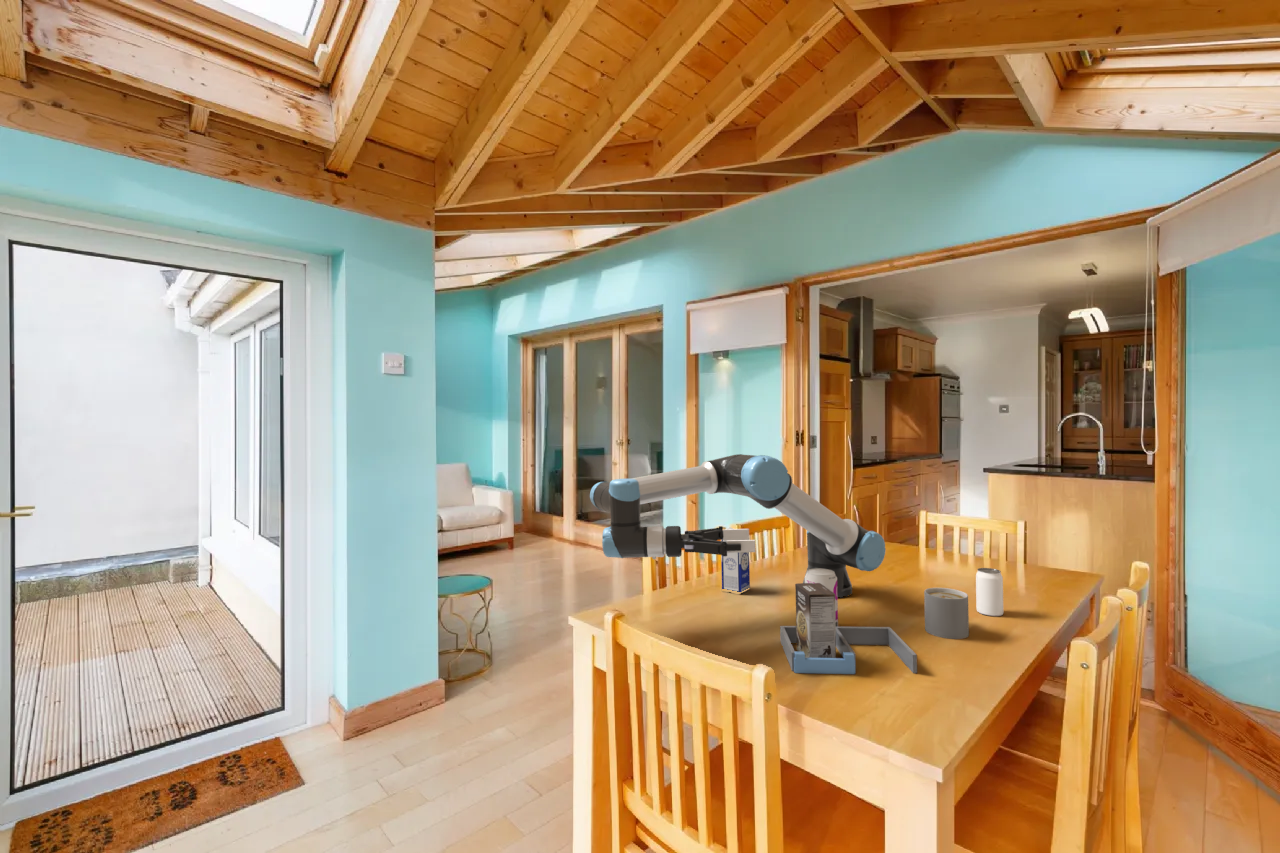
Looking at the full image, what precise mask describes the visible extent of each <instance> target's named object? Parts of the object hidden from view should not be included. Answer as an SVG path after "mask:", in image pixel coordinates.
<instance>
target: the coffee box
mask: <svg viewBox="0 0 1280 853" xmlns="http://www.w3.org/2000/svg"><path fill="white" fill-rule="evenodd" d="M794 585H795V620H796V621H795V626H796V633H797V644H796V650H797V651H802V652H804V653H805V658H837V656H836V655H837V652H836V651H837V648H836V616H835V594H834V593H833V592H832V591H830V590H829V589H827V588H826V587H825V586H823V585H822V584H821V583H803V582H799V583H795V584H794Z"/></svg>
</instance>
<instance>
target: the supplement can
mask: <svg viewBox="0 0 1280 853" xmlns="http://www.w3.org/2000/svg"><path fill="white" fill-rule="evenodd" d="M806 571H807V573H806V572H805V574H806V575H805V574H804V577H805V583H821V584H822V585H823V586H825V587H826V588H827V589H829V590H830V591H832V592H833V593H834V594H835V616H836V627H839V606H838V604H839V603H838V602H839V601H838V600H839V598H838V595H837V577H836V575H835V572H834V571H832V570H828V569H821V568H815V569H809V570H807V569H806Z"/></svg>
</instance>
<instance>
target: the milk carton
mask: <svg viewBox="0 0 1280 853" xmlns="http://www.w3.org/2000/svg"><path fill="white" fill-rule="evenodd" d="M727 529H734V528H733V527H728V528H727ZM720 541H725V542H727V540H724V539H722V540H720ZM720 561H721V590H722V589H727V590H732V591H737V592H742V591H744V590H746V589H748V588H750V589H751V584H750V581H751V580H750V579H751V576H750V573H751V572H750V552H735V553H727V556H723V555H720Z"/></svg>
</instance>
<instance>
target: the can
mask: <svg viewBox="0 0 1280 853" xmlns="http://www.w3.org/2000/svg"><path fill="white" fill-rule="evenodd" d="M1003 579H1004V578H1003V575H1002V572H1001V570H1000V569H997V568H991V567H980V568H977V571H976V574H975V595H976V596H975V598H976V599H975V600H976V601H975V603H976V607H975V609H976V611H977V613H978V612H979V613H978V614H980V615H982V616H986V615H987V616H989V617H1001V616H1003V614H1004V580H1003Z"/></svg>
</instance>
